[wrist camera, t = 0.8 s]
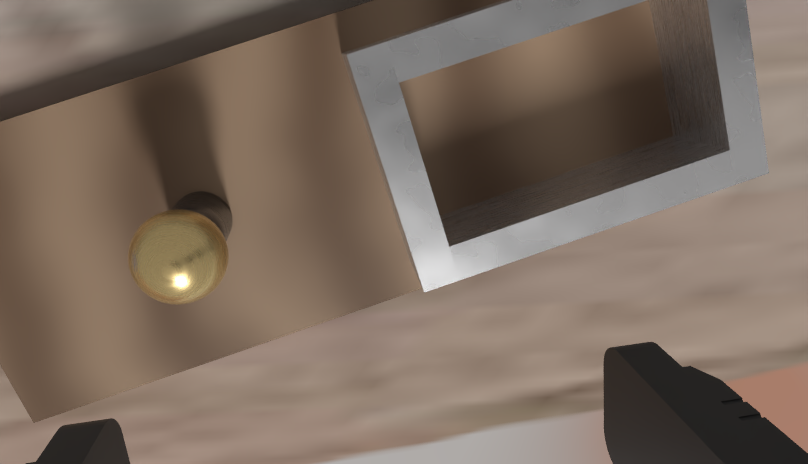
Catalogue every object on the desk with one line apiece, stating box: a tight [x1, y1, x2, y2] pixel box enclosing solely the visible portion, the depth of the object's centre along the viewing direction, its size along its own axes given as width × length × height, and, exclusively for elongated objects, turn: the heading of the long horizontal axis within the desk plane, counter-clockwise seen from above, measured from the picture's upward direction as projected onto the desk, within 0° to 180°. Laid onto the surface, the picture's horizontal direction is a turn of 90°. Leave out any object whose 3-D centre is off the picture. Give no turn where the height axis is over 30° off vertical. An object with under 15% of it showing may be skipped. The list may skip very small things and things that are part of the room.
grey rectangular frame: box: [341, 0, 769, 292], centre depth 25 cm, size 14×9×4 cm, turn 108°
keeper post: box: [128, 191, 233, 305], centre depth 23 cm, size 3×3×6 cm
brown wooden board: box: [0, 0, 673, 423], centre depth 27 cm, size 32×12×1 cm, turn 108°
